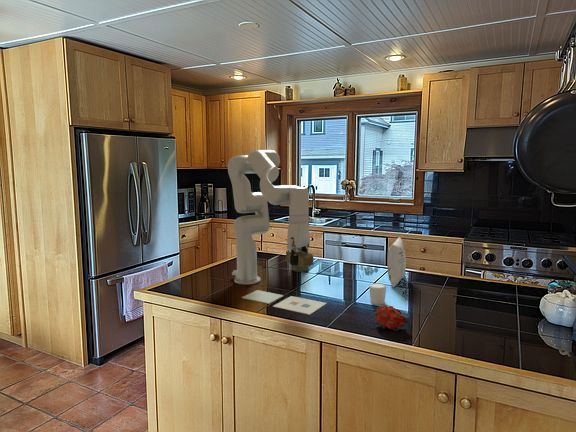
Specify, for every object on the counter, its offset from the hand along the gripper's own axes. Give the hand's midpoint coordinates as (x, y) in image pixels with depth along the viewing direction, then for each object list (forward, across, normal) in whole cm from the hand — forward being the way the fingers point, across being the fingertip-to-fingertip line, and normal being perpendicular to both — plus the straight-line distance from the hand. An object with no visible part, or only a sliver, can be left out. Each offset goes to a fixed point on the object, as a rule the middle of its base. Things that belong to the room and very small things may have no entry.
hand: (299, 262), depth 164 cm
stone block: (+1, 0, 0) cm, 1 cm away
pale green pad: (+18, 0, -18) cm, 25 cm away
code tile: (+18, 0, 0) cm, 18 cm away
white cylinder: (+18, -19, +26) cm, 37 cm away
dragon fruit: (+18, +3, +39) cm, 43 cm away
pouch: (+18, -49, +24) cm, 57 cm away
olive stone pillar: (+18, -45, -26) cm, 55 cm away
